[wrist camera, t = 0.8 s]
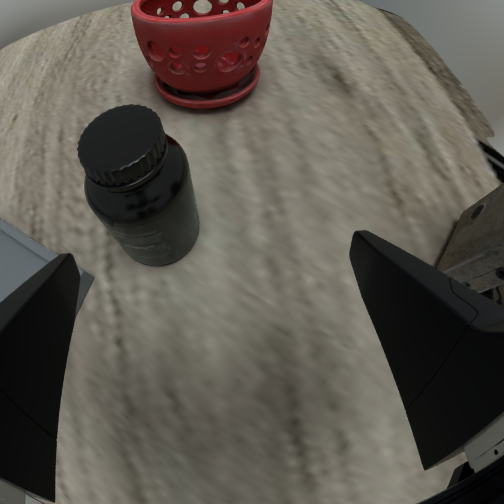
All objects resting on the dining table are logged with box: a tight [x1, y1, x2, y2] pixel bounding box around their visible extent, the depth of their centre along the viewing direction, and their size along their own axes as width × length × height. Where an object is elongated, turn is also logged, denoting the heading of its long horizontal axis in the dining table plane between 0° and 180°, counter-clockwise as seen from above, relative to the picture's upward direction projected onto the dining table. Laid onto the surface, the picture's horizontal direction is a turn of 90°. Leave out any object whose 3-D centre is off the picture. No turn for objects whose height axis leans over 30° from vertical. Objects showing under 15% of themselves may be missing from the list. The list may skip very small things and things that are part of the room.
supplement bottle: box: [77, 104, 199, 266], centre depth 20 cm, size 7×7×12 cm
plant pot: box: [131, 0, 273, 109], centre depth 26 cm, size 13×13×12 cm
